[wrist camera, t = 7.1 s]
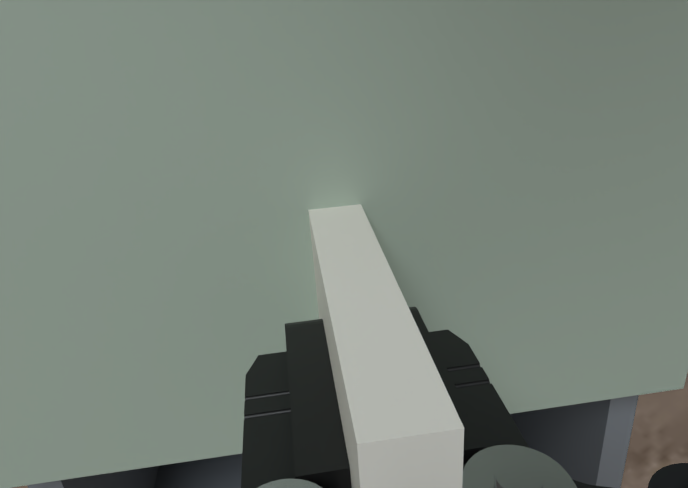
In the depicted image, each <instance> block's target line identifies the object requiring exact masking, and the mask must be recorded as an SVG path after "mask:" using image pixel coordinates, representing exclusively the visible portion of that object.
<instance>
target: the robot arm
mask: <svg viewBox="0 0 688 488" xmlns="http://www.w3.org/2000/svg"><path fill="white" fill-rule="evenodd" d="M409 309H410V312H411V314H412V316H413V318H414V320H415V322H416V325H417V327H418V329H419V331H420V333H421V335H422V338H423V340H424V342H425V344H426V346H427V348H428V351H429V353H430V355H431V357H432V359H433V361H434V364H435V366H436V368H437V370H438V372H439V374H440V377H441V379H442V381H443V383H444V385H445V387H446V390H447V392H448V394H449V396H450V398H451V400H452V403H453V405H454V407H455V409H456V411H457V413H458V416H459V418H460V420H461V422H462V424H463V426H464V453H463V484H462V488H611V487H603V486H596V485H590V484H586V483H582V482H578V481H575V480H573V479H571V477H570V476H569V474H568V473H567V472H566V470H565V469H564V468H563V467H562V466H561V465H560V464H559V463H557V462H556V461H555V460H553V459H552V458H550V457H549V456H547V455H545V454H543V453H541V452H539V451H537V450H534V449H531V448H530V447H529V446H528V444H527V442H526V441H525V439H524V437H523V435H522V434H521V432H520V430H519V429H518V427H517V425H516V424H515V422H514V420H513V419H512V417H511V415H510V413H509V412H508V410H507V408H506V407H505V405H504V403H503V402H502V400H501V398H500V397H499V395H498V393H497V391H496V390H495V388H494V386H493V385H492V383H491V384H490V381H489V378H488V376H487V374H486V373H485V371H484V369H483V368H482V367H480V363H479V361H478V359H477V358H476V356H475V354H474V352H473V351H472V349H471V347H470V346H469V344H468V343H466V342H465V341H463V340H462V339H461V338H459V337H458V336H456V335H455V334H454V333H452V332H451V331H449V330H448V329H447V330H440V331H433V332H429V331H428V329H427V327H426V325H425V323H424V321H423V319H422V317H421V315H420V313H419V311H418V309H417V308H416V307H409ZM285 336H286V352H278V353H271V354H264V355H258V356H257V358H256V360H255V361H254V363H253V364H252V366H251V367H250V369H249V371H248V372H247V374H246V378H245V402H244V426H243V450H242V474H241V488H352V486H351V474H350V465H349V460H348V454H347V449H346V444H345V438H344V433H343V427H342V422H341V416H340V411H339V405H338V400H337V394H336V389H335V383H334V378H333V372H332V367H331V362H330V356H329V351H328V345H327V340H326V334H325V329H324V323H323V319H316V320H308V321H301V322H293V323H286V324H285ZM648 488H688V463H679V464H672V465H669V466H666V467H663V468H662V469H660V470H658V471H657V472H656V473H655V474H654V475H653V476H652V478H651V480H650V481H649V485H648Z"/></svg>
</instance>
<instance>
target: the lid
mask: <svg viewBox="0 0 688 488" xmlns="http://www.w3.org/2000/svg"><path fill="white" fill-rule="evenodd" d="M409 307H416V308H417V309H418V311H419V313H420V315H421V317H422V319H423V321H424V323H425V325H426V327H427V329H428V331H429V332H433V331H440V330H447V329H448V330H449V331H451V332H452V333H454V334H455V335H456V336H458V337H459V338H461V339H462V340H463V341H465V342H466V343H468V344H469V346H470V347H471V349H472V351H473V352H474V354H475V356H476V358H477V359H478V361H479V363H480V367H482V368H483V369H484V371H485V373H486V374H487V376H488V378H489V381H490V384H491V383H492V385H493V386H494V388H495V390H496V391H497V393H498V395H499V397H500V398H501V400H502V402H503V403H504V405H505V407H506V408H507V410H508V412H509V413H510V414H513V413H520V412H526V411H533V410H540V409H547V408H554V407H560V406H567V405H574V404H581V403H587V402H594V401H601V400H608V399H615V398H621V397H628V396H635V395H642V394H648V393H655V392H662V391H669V390H676V389H682V388H684V384H685V380H686V376H687V371H688V0H0V488H11V487H18V486H25V485H32V484H38V483H45V482H52V481H59V480H66V479H72V478H79V477H86V476H93V475H99V474H106V473H113V472H120V471H127V470H133V469H140V468H147V467H154V466H160V465H167V464H174V463H181V462H188V461H194V460H201V459H208V458H215V457H221V456H228V455H235V454H242V450H243V426H244V402H245V378H246V374H247V372H248V371H249V369H250V367H251V366H252V364H253V363H254V361H255V360H256V358H257V356H258V355H264V354H271V353H278V352H286V336H285V324H286V323H293V322H301V321H308V320H316V319H323V323H324V329H325V334H326V340H327V345H328V351H329V356H330V362H331V367H332V372H333V378H334V383H335V389H336V394H337V400H338V405H339V411H340V416H341V422H342V427H343V433H344V438H345V444H346V449H347V454H348V460H349V465H350V474H351V486H352V488H462V484H463V453H464V426H463V424H462V422H461V420H460V418H459V416H458V413H457V411H456V409H455V407H454V405H453V403H452V400H451V398H450V396H449V394H448V392H447V390H446V387H445V385H444V383H443V381H442V379H441V377H440V374H439V372H438V370H437V368H436V366H435V364H434V361H433V359H432V357H431V355H430V353H429V351H428V348H427V346H426V344H425V342H424V340H423V338H422V335H421V333H420V331H419V329H418V327H417V325H416V322H415V320H414V318H413V316H412V314H411V312H410V309H409Z"/></svg>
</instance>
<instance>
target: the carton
mask: <svg viewBox="0 0 688 488" xmlns="http://www.w3.org/2000/svg"><path fill="white" fill-rule="evenodd" d="M637 400H638V395H635V396H628V397H621V398H615V399H608V400H601V401H594V402H587V403H581V404H574V405H567V406H560V407H554V408H547V409H540V410H533V411H526V412H520V413H513V414H510V415H511V417H512V419H513V420H514V422H515V424H516V425H517V427H518V429H519V430H520V432H521V434H522V435H523V437H524V439H525V441H526V442H527V444H528V446H529V447H530V448H531V449H534V450H537V451H539V452H541V453H543V454H545V455H547V456H549V457H550V458H552V459H553V460H555V461H556V462H557V463H559V464H560V465H561V466H562V467H563V468H564V469H565V470H566V472H567V473H568V474H569V476H570V477H571V479H573V480H575V481H578V482H582V483H586V484H590V485H596V486H603V487H611V488H620V487H621V482H622V477H623V471H624V466H625V461H626V456H627V451H628V446H629V441H630V436H631V431H632V426H633V421H634V416H635V410H636V405H637ZM241 474H242V454H235V455H228V456H221V457H215V458H208V459H201V460H194V461H188V462H181V463H174V464H167V465H160V466H154V467H147V468H140V469H133V470H127V471H120V472H113V473H106V474H99V475H93V476H86V477H79V478H72V479H66V480H59V481H52V482H45V483H38V484H32V485H27V486H28V488H241Z"/></svg>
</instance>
